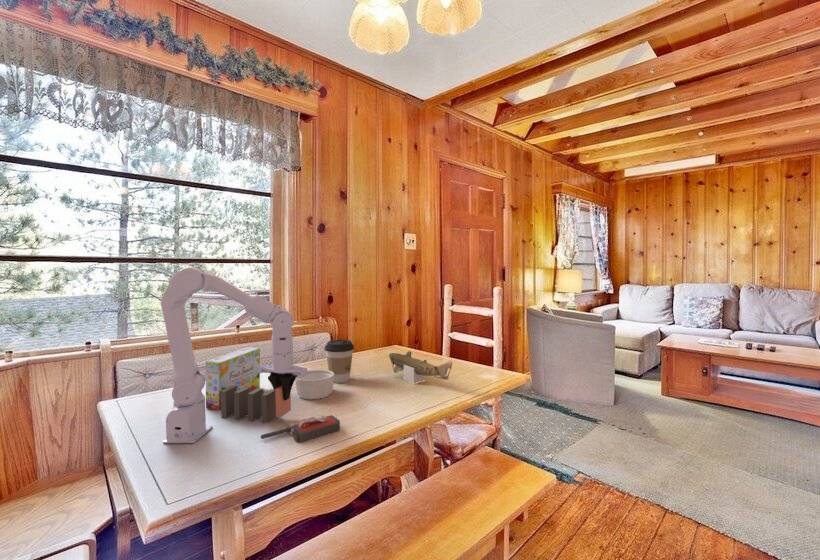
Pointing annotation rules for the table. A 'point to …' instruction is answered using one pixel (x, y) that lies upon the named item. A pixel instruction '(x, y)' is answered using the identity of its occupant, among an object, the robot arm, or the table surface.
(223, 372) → the snack box
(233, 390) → the domino
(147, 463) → the table surface
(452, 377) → the table surface
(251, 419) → the domino
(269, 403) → the domino
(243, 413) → the domino
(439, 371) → the wood carving
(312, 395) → the ramekin
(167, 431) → the robot arm
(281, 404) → the red domino
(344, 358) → the coffee cup
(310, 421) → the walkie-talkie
